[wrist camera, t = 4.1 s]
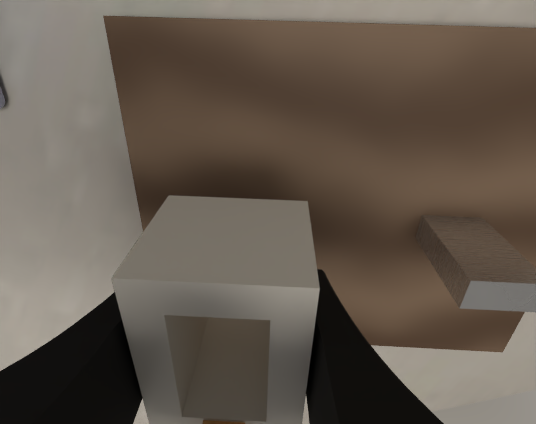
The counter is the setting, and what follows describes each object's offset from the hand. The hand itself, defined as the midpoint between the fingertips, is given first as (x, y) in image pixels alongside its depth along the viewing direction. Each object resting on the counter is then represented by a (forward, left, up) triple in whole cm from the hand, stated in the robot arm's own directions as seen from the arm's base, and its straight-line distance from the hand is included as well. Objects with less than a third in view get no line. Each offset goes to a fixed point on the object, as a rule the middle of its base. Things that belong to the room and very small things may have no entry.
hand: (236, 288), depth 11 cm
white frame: (0, 0, -1) cm, 1 cm away
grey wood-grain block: (+1, +10, -6) cm, 12 cm away
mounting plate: (+1, +5, -8) cm, 9 cm away
